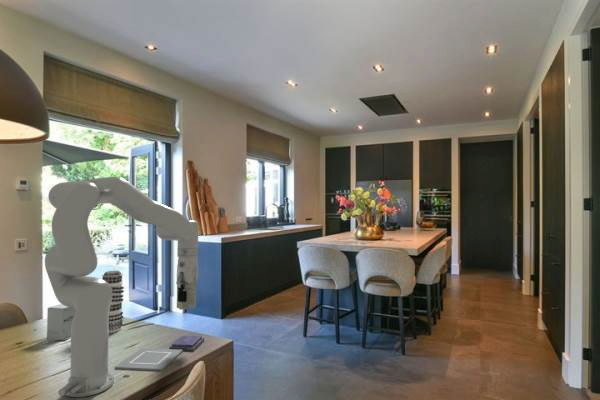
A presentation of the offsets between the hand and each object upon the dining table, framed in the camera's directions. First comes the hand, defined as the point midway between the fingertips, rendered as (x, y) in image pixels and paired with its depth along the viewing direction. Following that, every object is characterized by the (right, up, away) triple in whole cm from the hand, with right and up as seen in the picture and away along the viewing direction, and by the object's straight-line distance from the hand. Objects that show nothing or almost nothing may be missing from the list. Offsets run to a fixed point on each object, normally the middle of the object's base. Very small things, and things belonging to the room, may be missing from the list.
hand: (186, 298), depth 137 cm
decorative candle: (-38, -18, +18) cm, 46 cm away
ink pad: (0, -18, 0) cm, 18 cm away
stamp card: (-8, -17, -13) cm, 23 cm away
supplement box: (-54, -18, +10) cm, 58 cm away
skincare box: (0, -3, 0) cm, 3 cm away
